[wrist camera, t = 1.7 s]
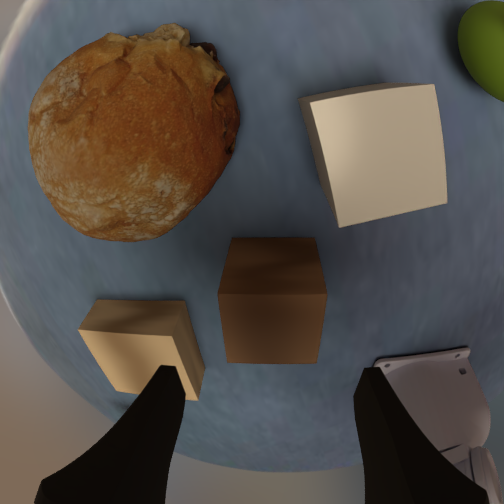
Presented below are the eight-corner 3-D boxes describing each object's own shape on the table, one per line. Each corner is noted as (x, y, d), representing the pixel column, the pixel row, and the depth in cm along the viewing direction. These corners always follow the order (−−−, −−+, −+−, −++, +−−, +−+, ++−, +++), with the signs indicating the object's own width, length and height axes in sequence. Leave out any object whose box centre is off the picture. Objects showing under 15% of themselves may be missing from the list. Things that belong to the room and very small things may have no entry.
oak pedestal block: (185, 298, 19) (171, 336, 16) (205, 364, 23) (198, 400, 20) (98, 297, 20) (77, 329, 17) (129, 359, 24) (116, 390, 21)
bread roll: (91, 91, 16) (-11, 149, 11) (185, -20, 9) (24, -3, 4) (170, 205, 20) (88, 288, 15) (300, 145, 13) (204, 263, 8)
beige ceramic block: (385, 82, 12) (434, 84, 8) (401, 167, 14) (447, 202, 10) (297, 98, 13) (309, 102, 8) (320, 184, 15) (339, 227, 11)
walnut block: (314, 237, 16) (327, 294, 12) (309, 301, 19) (316, 363, 14) (232, 237, 17) (217, 293, 12) (237, 300, 19) (227, 362, 15)
